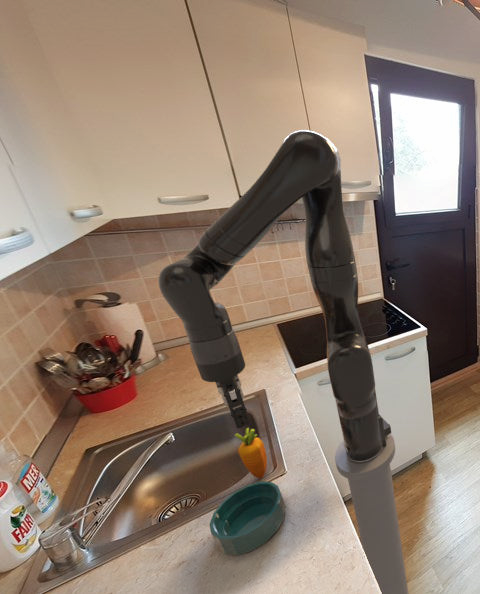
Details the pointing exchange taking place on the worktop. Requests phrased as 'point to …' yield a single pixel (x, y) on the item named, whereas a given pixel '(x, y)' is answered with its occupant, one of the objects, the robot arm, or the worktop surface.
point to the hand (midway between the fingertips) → (239, 415)
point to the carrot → (253, 453)
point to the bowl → (248, 518)
